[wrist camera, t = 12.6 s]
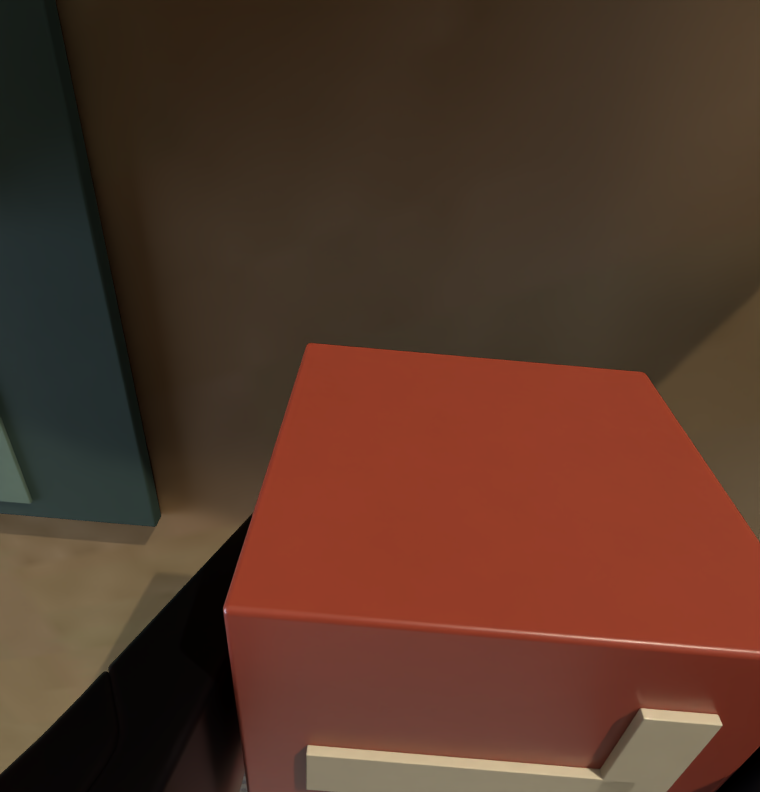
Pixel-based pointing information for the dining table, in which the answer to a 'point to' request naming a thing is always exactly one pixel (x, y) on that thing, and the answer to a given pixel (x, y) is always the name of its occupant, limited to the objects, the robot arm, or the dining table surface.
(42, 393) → the word mat
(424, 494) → the letter T
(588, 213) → the dining table surface
